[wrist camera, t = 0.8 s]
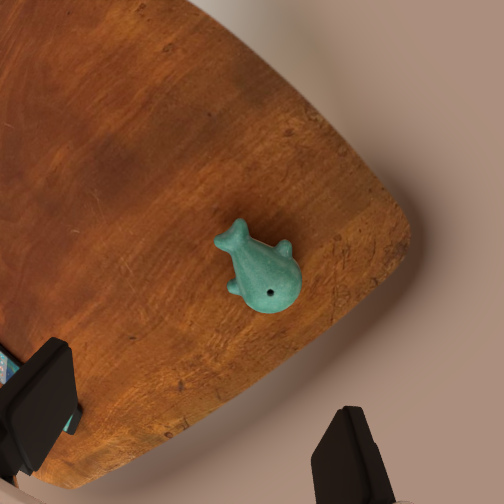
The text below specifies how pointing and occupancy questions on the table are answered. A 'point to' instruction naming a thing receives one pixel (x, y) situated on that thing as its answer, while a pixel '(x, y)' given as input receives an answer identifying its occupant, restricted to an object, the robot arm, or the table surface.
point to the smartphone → (3, 368)
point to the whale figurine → (260, 269)
